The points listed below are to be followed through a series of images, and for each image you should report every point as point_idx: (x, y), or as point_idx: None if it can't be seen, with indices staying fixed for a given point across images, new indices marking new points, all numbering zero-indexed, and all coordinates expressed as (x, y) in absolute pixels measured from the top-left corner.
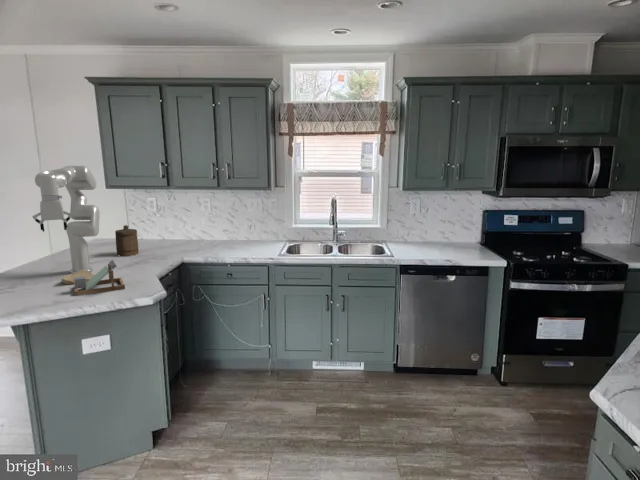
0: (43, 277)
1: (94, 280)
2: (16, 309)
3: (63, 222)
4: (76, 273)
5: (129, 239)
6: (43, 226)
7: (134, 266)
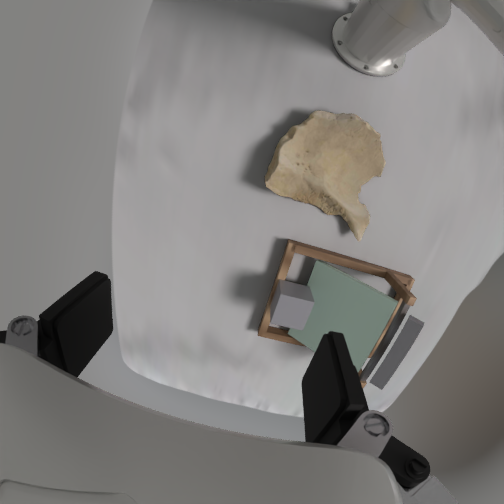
0: (243, 29)
1: (324, 331)
2: (133, 329)
3: (331, 419)
4: (335, 127)
5: None
6: (83, 366)
7: (494, 135)
